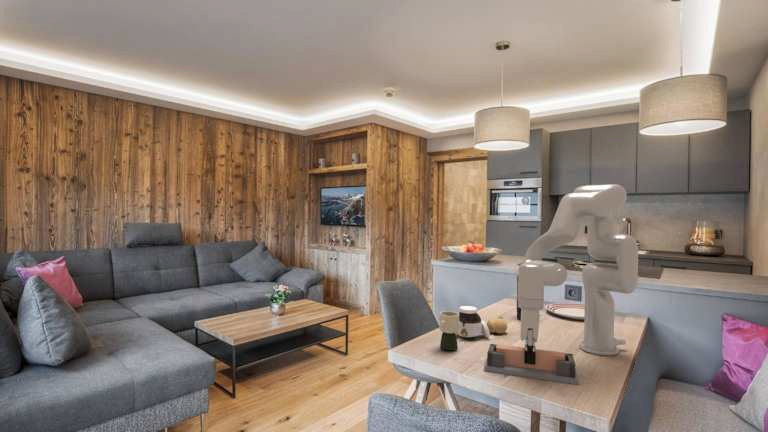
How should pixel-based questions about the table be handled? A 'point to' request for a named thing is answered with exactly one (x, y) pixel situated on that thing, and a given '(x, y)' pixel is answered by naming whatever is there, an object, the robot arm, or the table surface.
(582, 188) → the robot arm
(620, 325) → the table surface
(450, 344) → the character mug
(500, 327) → the onion
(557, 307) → the dinner plate
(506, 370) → the board
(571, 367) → the end caps
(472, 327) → the spread jar
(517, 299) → the travel mug
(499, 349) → the slat
